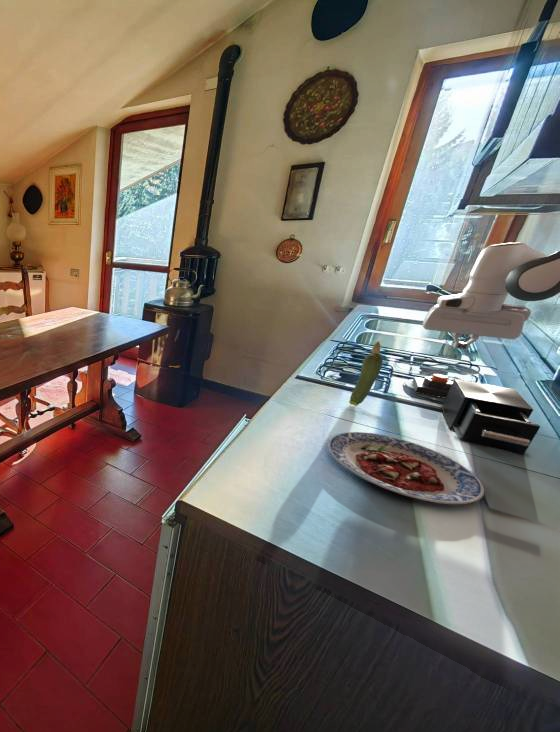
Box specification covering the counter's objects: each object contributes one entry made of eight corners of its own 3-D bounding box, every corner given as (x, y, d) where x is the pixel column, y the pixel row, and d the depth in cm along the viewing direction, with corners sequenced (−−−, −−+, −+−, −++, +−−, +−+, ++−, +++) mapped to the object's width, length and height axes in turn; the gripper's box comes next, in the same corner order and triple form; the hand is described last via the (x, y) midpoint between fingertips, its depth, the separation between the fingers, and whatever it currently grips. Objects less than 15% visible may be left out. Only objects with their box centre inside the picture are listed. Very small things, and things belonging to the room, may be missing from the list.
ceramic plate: (513, 527, 70) (521, 514, 69) (344, 493, 78) (349, 481, 77) (438, 451, 92) (444, 441, 91) (313, 431, 100) (317, 421, 99)
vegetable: (354, 401, 117) (378, 337, 108) (369, 408, 113) (395, 342, 105) (344, 403, 115) (366, 339, 107) (358, 410, 111) (383, 343, 103)
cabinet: (513, 444, 95) (533, 409, 92) (449, 429, 102) (465, 396, 98) (497, 421, 106) (515, 389, 102) (440, 409, 113) (454, 378, 109)
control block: (452, 390, 125) (457, 378, 123) (458, 401, 118) (464, 389, 116) (411, 382, 130) (416, 371, 129) (415, 392, 123) (420, 381, 121)
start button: (445, 380, 123) (447, 375, 122) (447, 384, 120) (449, 379, 119) (430, 377, 125) (432, 372, 124) (431, 381, 122) (434, 376, 121)
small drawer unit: (529, 465, 86) (547, 435, 83) (464, 449, 91) (479, 420, 88) (506, 432, 99) (521, 404, 96) (450, 420, 105) (463, 393, 102)
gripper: (530, 304, 108) (507, 352, 113) (431, 296, 119) (414, 340, 125) (538, 308, 103) (513, 357, 109) (434, 300, 114) (417, 344, 120)
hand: (460, 348), depth 117 cm, fingers closed
